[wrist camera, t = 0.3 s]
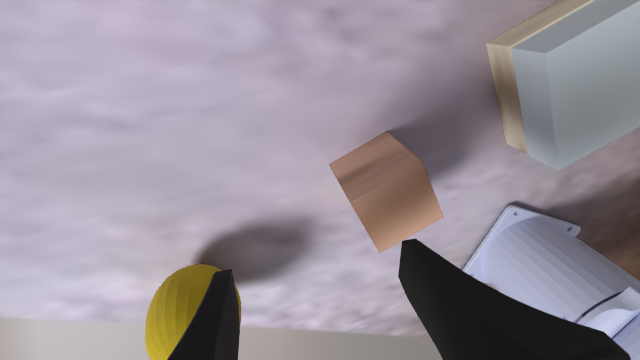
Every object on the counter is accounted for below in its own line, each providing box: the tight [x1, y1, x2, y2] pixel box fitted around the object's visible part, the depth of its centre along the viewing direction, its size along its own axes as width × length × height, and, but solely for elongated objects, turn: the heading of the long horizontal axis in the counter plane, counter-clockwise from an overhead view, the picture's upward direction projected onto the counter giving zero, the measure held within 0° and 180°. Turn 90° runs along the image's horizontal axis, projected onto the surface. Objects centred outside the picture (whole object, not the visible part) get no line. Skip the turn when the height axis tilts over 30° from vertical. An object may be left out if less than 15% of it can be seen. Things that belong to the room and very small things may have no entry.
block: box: [329, 131, 444, 253], centre depth 21 cm, size 4×4×5 cm
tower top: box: [511, 0, 640, 171], centre depth 20 cm, size 8×8×2 cm
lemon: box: [145, 264, 241, 360], centre depth 21 cm, size 6×6×8 cm
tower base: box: [486, 0, 595, 154], centre depth 22 cm, size 8×8×2 cm
